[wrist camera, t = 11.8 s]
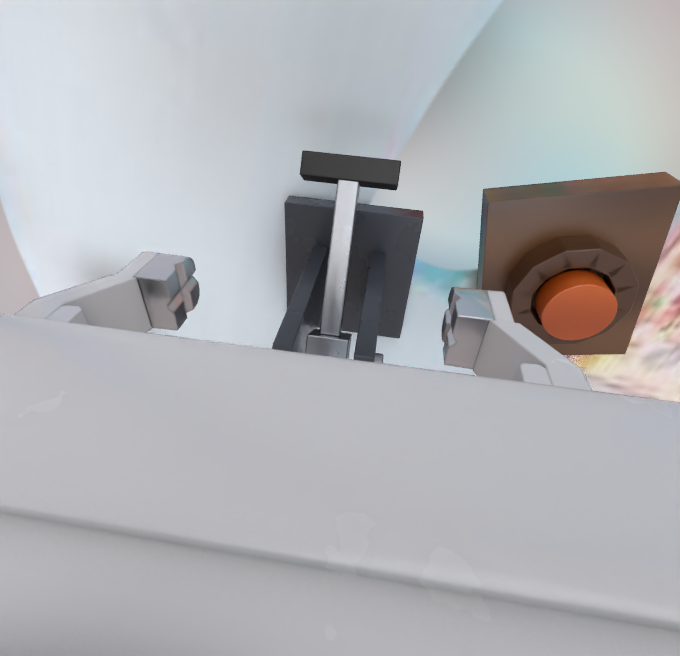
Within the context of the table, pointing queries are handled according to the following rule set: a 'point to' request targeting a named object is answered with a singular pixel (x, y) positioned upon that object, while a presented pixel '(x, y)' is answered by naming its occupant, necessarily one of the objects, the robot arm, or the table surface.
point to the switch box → (577, 246)
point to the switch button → (575, 305)
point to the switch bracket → (364, 273)
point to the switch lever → (342, 235)
